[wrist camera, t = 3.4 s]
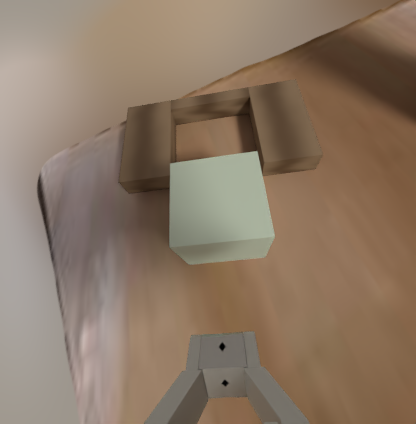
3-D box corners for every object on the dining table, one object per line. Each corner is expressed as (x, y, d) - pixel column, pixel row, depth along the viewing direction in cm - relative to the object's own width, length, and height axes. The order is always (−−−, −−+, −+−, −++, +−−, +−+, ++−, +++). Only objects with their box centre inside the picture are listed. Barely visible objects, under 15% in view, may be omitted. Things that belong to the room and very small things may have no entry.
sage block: (253, 190, 29) (257, 151, 22) (265, 257, 25) (275, 236, 18) (187, 198, 30) (170, 163, 22) (189, 264, 26) (169, 247, 19)
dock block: (291, 97, 35) (295, 79, 32) (315, 169, 29) (323, 154, 26) (136, 122, 37) (128, 107, 34) (129, 193, 31) (118, 182, 29)
